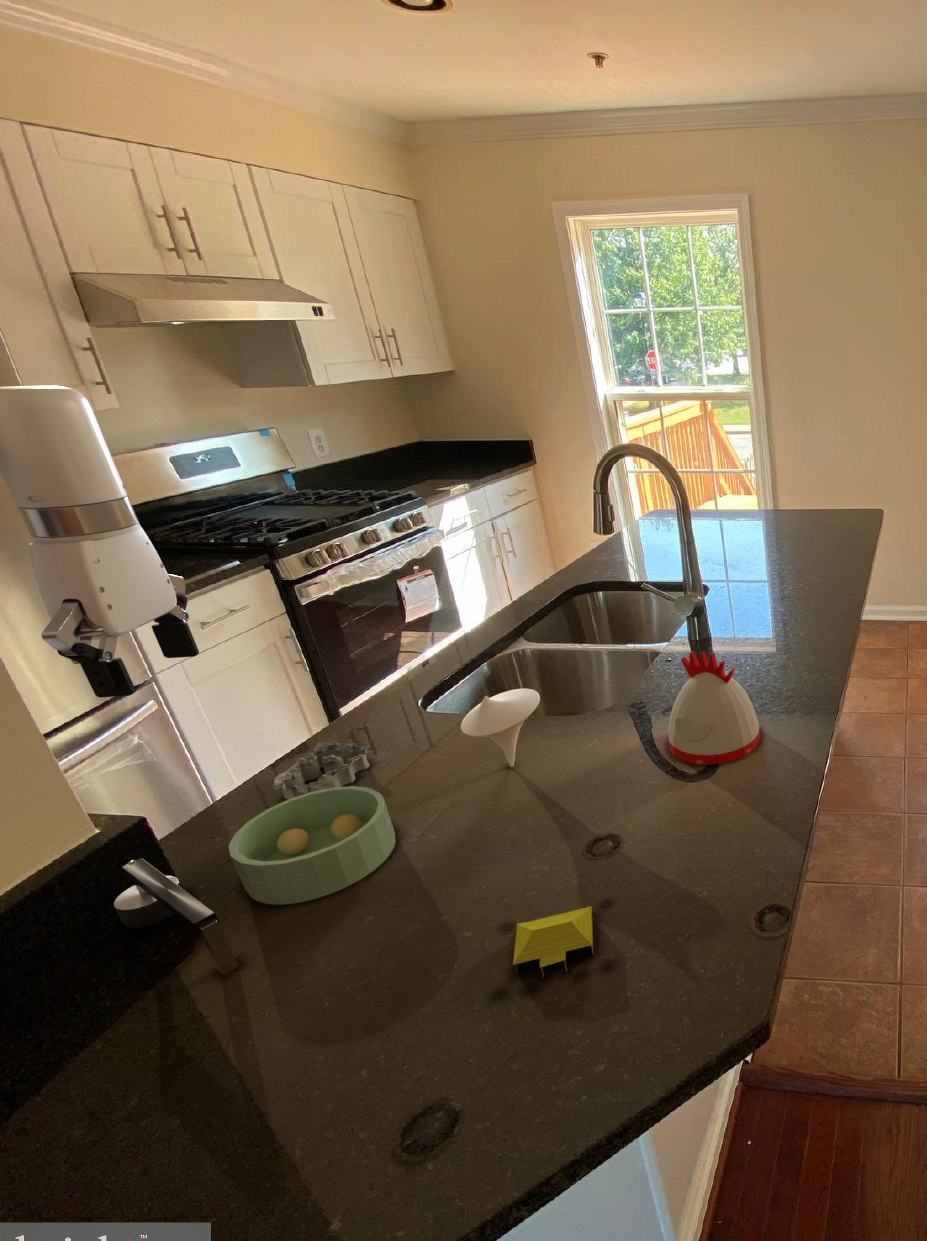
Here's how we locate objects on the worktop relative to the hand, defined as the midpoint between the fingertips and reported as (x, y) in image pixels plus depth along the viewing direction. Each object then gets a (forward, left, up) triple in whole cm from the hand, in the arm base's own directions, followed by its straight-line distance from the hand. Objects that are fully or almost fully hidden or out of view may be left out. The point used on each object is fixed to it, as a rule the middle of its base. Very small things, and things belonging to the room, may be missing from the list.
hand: (151, 674), depth 75 cm
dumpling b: (+12, +8, -21) cm, 25 cm away
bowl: (+13, +4, -23) cm, 27 cm away
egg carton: (-4, +13, -23) cm, 27 cm away
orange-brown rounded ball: (+10, +3, -21) cm, 23 cm away
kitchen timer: (+36, +48, -23) cm, 65 cm away
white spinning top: (+15, +28, -23) cm, 40 cm away
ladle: (+14, -9, -23) cm, 29 cm away
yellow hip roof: (+48, +8, -23) cm, 54 cm away
